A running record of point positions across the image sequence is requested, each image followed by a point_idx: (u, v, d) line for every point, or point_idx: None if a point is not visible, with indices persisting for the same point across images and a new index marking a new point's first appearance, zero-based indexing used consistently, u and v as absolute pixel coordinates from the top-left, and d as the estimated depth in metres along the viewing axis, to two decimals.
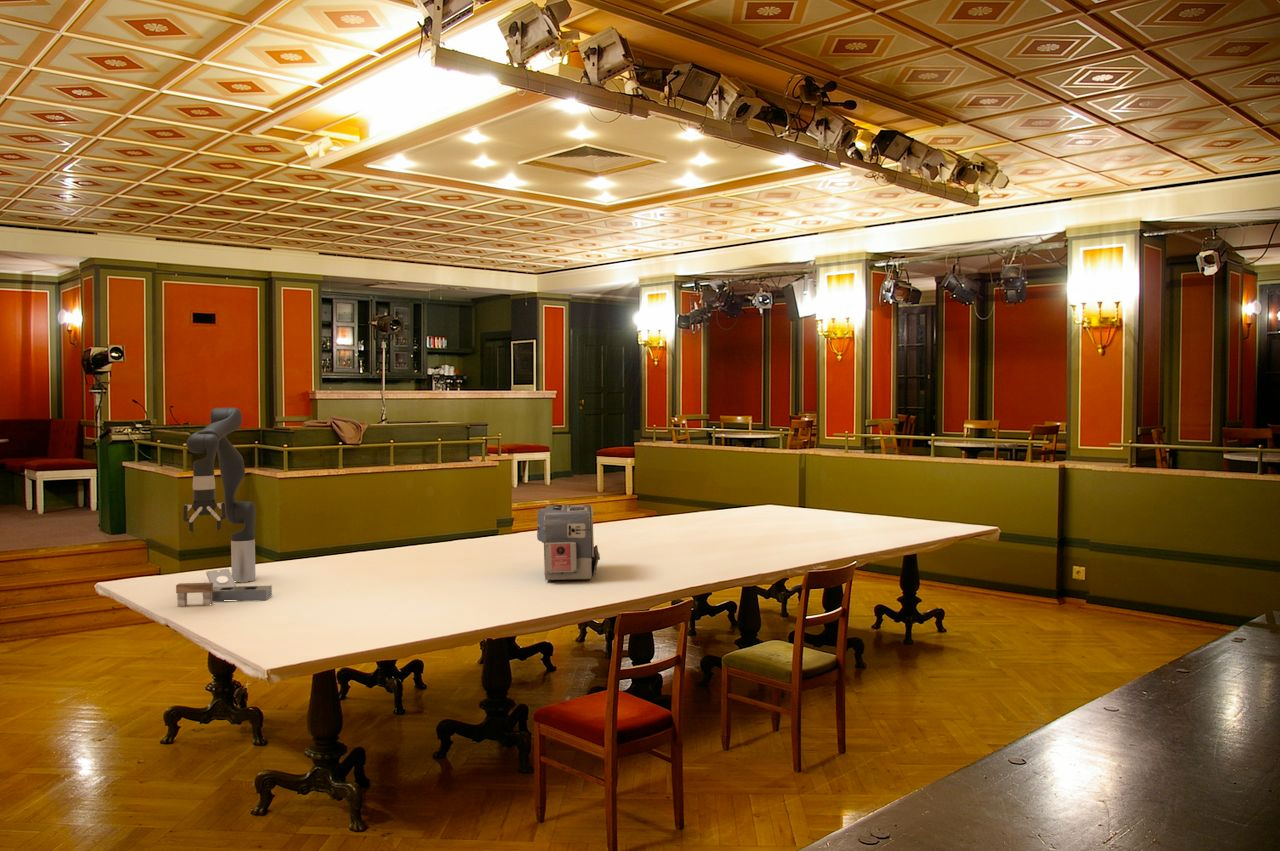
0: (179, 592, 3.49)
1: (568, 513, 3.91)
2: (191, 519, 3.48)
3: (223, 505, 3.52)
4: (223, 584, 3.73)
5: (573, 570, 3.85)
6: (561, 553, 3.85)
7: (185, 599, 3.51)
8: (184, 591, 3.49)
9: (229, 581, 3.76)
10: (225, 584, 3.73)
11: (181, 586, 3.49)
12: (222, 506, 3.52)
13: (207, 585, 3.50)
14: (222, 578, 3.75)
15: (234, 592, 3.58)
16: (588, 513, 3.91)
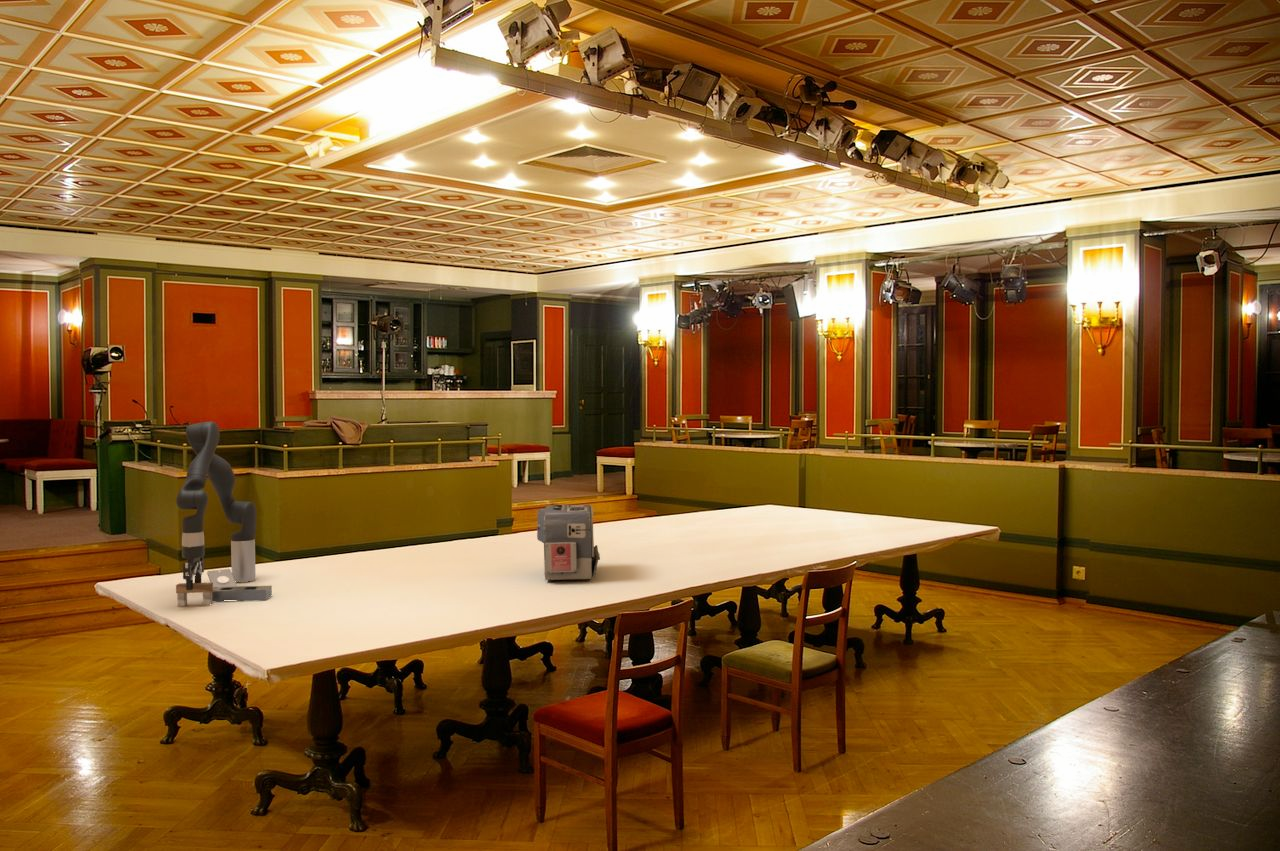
0: (179, 592, 3.49)
1: (568, 513, 3.91)
2: (192, 576, 3.46)
3: None
4: (224, 584, 3.73)
5: (573, 570, 3.85)
6: (561, 553, 3.85)
7: (185, 599, 3.51)
8: (184, 591, 3.49)
9: (230, 581, 3.76)
10: (225, 584, 3.73)
11: (181, 586, 3.49)
12: (202, 560, 3.57)
13: (207, 585, 3.50)
14: (223, 578, 3.75)
15: (234, 592, 3.58)
16: (588, 513, 3.91)
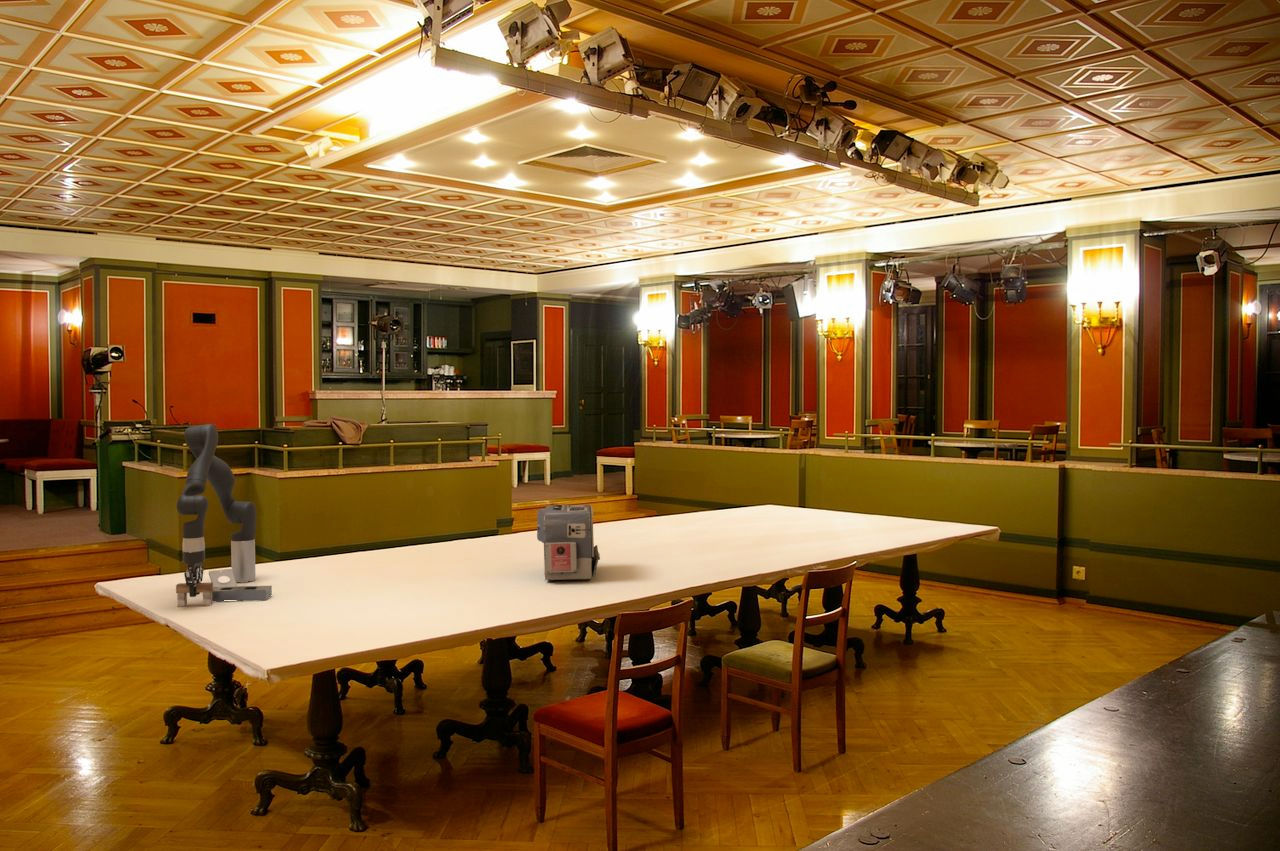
0: (179, 592, 3.49)
1: (568, 513, 3.91)
2: (195, 583, 3.49)
3: (203, 568, 3.57)
4: (224, 584, 3.73)
5: (573, 570, 3.85)
6: (561, 553, 3.85)
7: (185, 599, 3.51)
8: (184, 591, 3.49)
9: (231, 581, 3.76)
10: (226, 584, 3.73)
11: (181, 586, 3.49)
12: (202, 569, 3.56)
13: (207, 585, 3.50)
14: (223, 578, 3.75)
15: (234, 592, 3.58)
16: (588, 513, 3.91)
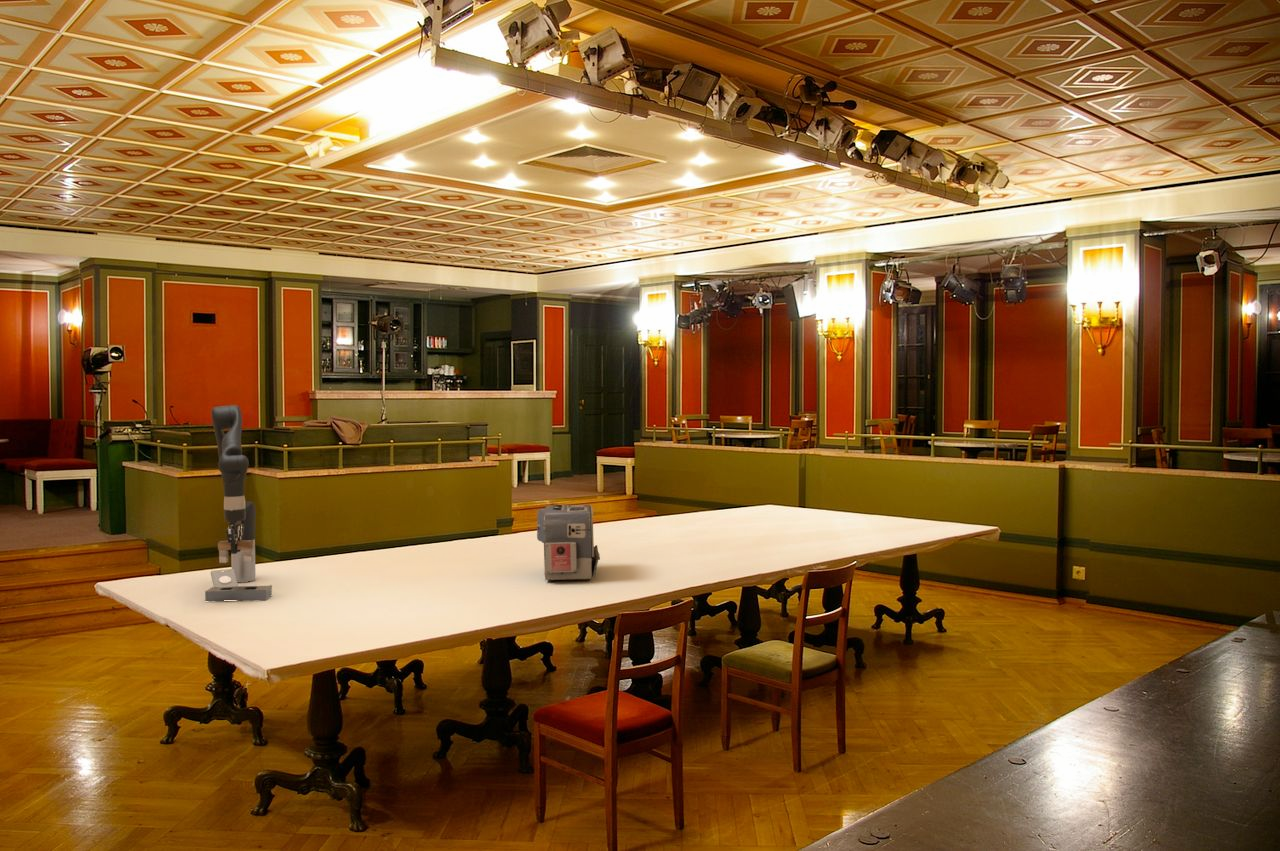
0: (220, 549, 3.59)
1: (568, 513, 3.91)
2: (237, 540, 3.59)
3: (243, 526, 3.66)
4: (225, 584, 3.73)
5: (573, 570, 3.85)
6: (561, 553, 3.85)
7: (226, 556, 3.60)
8: (225, 548, 3.59)
9: (232, 581, 3.76)
10: (227, 584, 3.73)
11: (223, 543, 3.59)
12: (243, 527, 3.66)
13: (248, 542, 3.59)
14: (225, 578, 3.75)
15: (234, 592, 3.58)
16: (588, 513, 3.91)
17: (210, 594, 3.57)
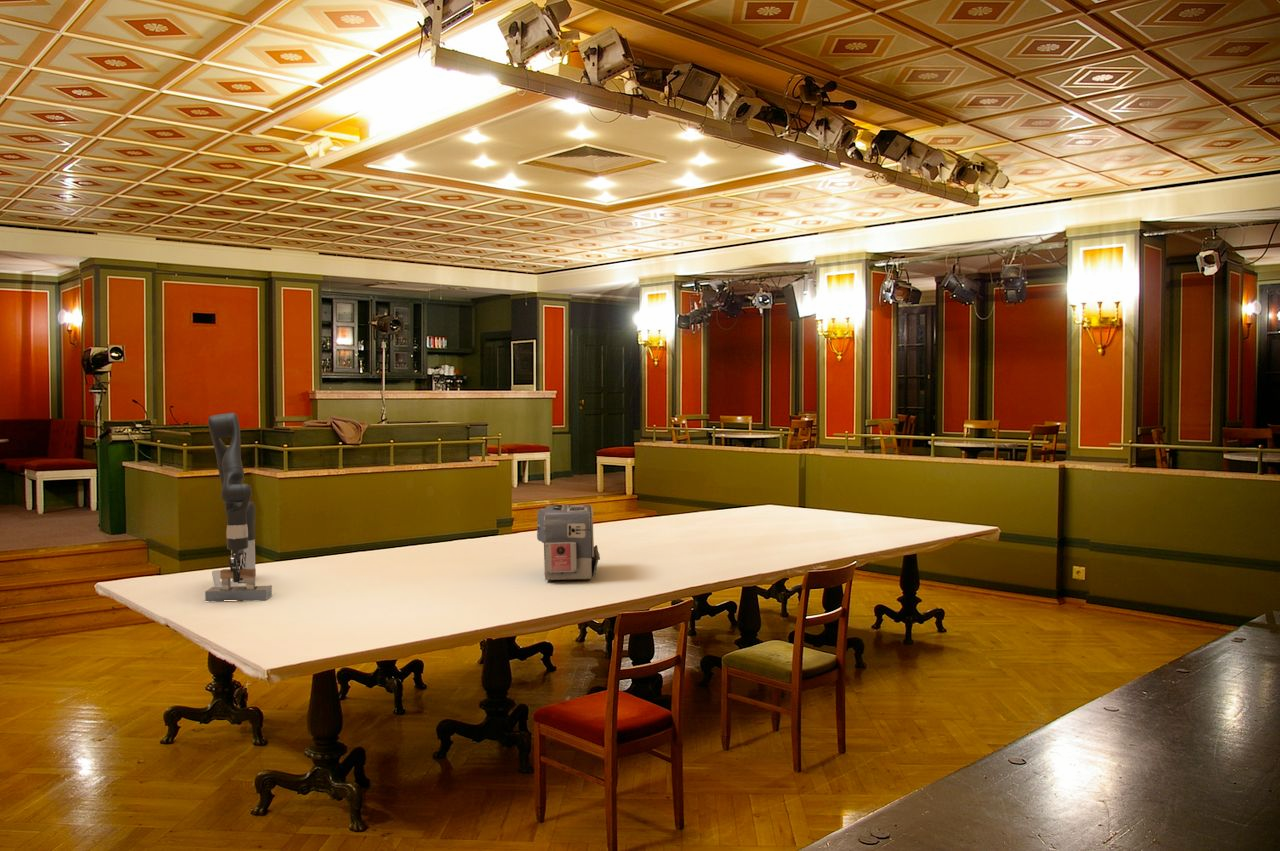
0: (223, 578, 3.59)
1: (568, 513, 3.91)
2: (239, 569, 3.59)
3: (246, 555, 3.67)
4: None
5: (573, 570, 3.85)
6: (561, 553, 3.85)
7: (229, 584, 3.61)
8: (228, 577, 3.59)
9: None
10: None
11: (225, 572, 3.59)
12: (245, 555, 3.67)
13: (250, 571, 3.60)
14: None
15: (234, 592, 3.58)
16: (588, 513, 3.91)
17: (210, 594, 3.57)
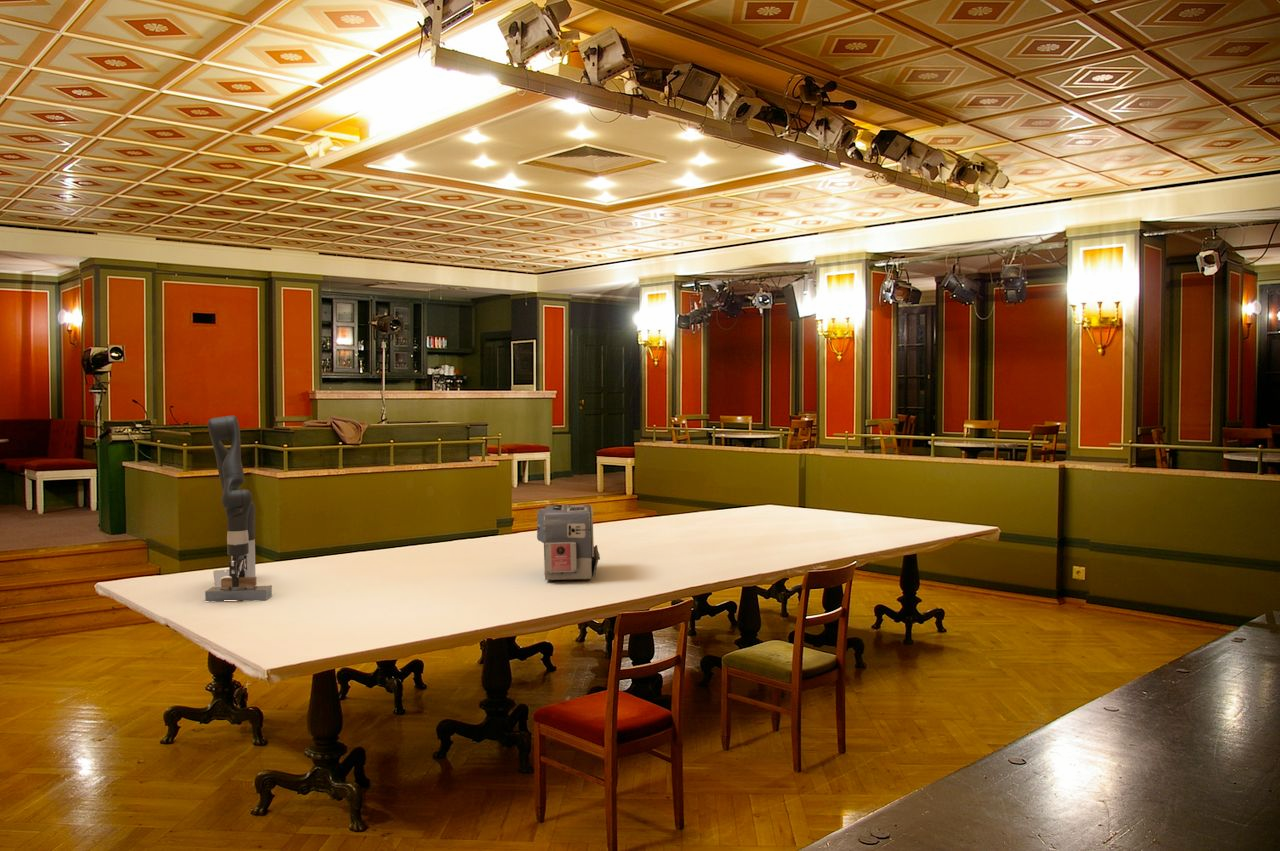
0: (224, 586, 3.60)
1: (568, 513, 3.91)
2: (238, 574, 3.57)
3: (246, 557, 3.68)
4: None
5: (573, 570, 3.85)
6: (561, 553, 3.85)
7: None
8: (229, 585, 3.60)
9: None
10: None
11: (226, 580, 3.60)
12: (246, 558, 3.67)
13: (251, 579, 3.61)
14: None
15: (234, 592, 3.58)
16: (588, 513, 3.91)
17: (210, 594, 3.57)
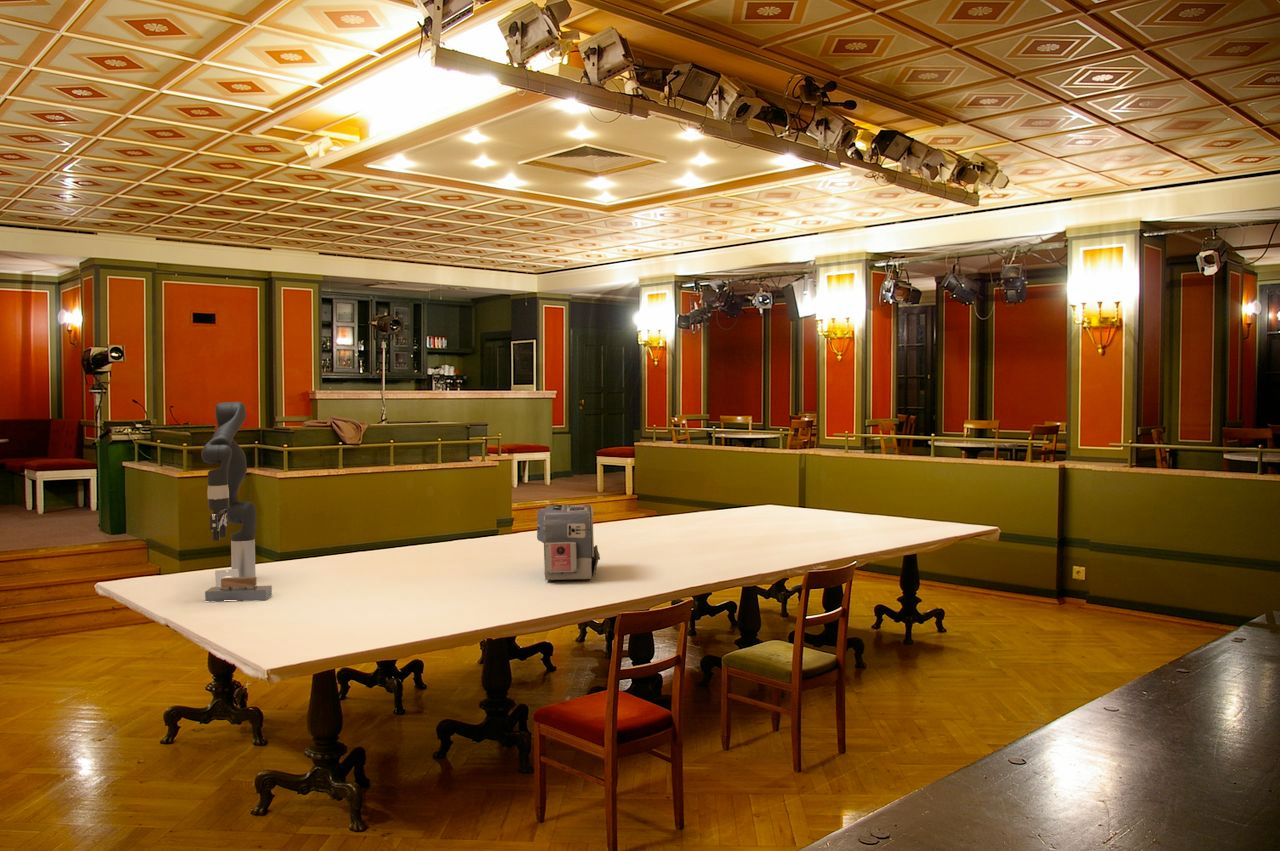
0: (224, 586, 3.60)
1: (568, 513, 3.91)
2: (219, 527, 3.59)
3: (227, 511, 3.69)
4: None
5: (573, 570, 3.85)
6: (561, 553, 3.85)
7: None
8: (229, 585, 3.60)
9: None
10: None
11: (226, 580, 3.60)
12: (226, 512, 3.69)
13: (251, 579, 3.61)
14: None
15: (234, 592, 3.58)
16: (588, 513, 3.91)
17: (210, 594, 3.57)
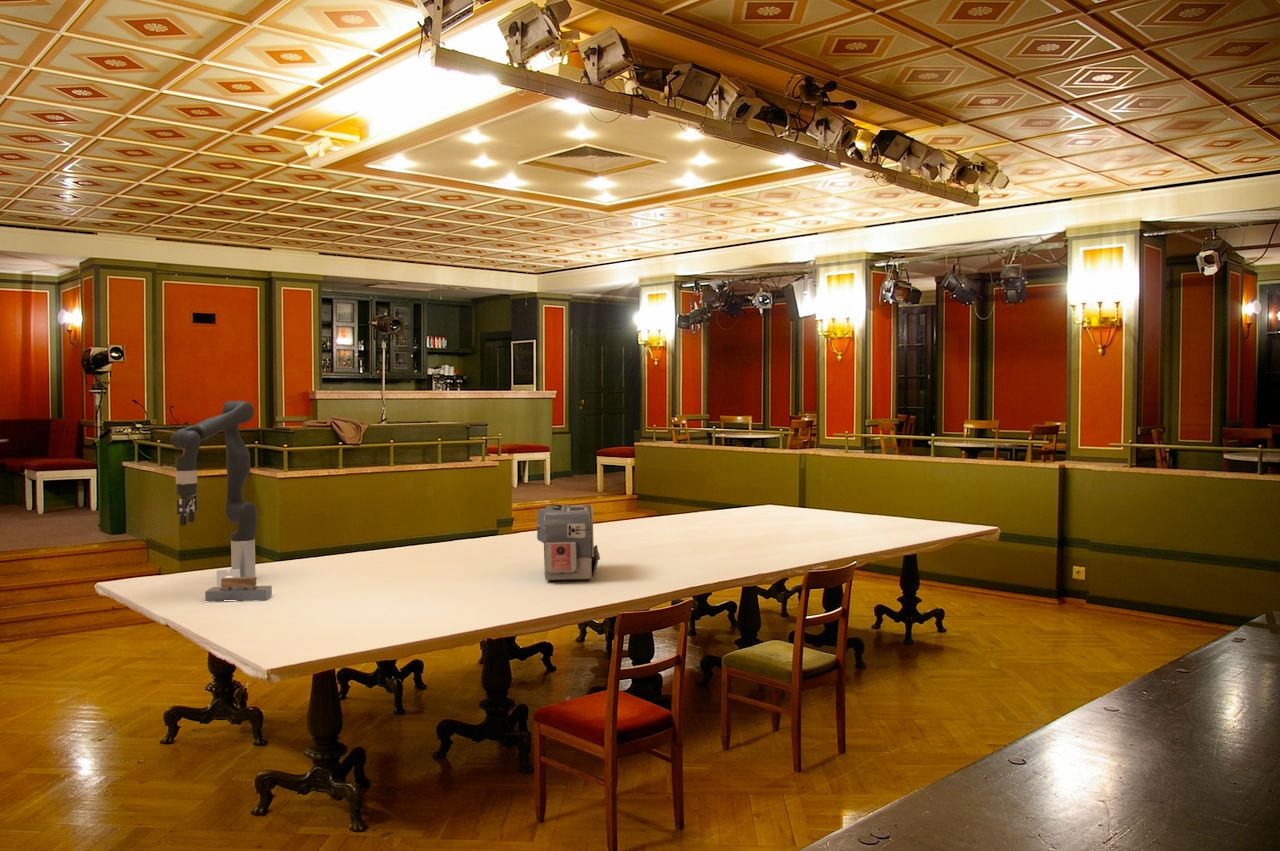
0: (224, 586, 3.60)
1: (568, 513, 3.91)
2: (186, 512, 3.62)
3: (196, 497, 3.73)
4: None
5: (573, 570, 3.85)
6: (561, 553, 3.85)
7: None
8: (229, 585, 3.60)
9: None
10: None
11: (226, 580, 3.60)
12: (195, 498, 3.72)
13: (251, 579, 3.61)
14: None
15: (234, 592, 3.58)
16: (588, 513, 3.91)
17: (210, 594, 3.57)
